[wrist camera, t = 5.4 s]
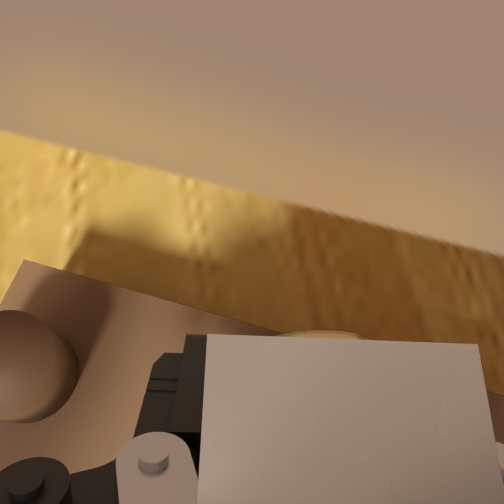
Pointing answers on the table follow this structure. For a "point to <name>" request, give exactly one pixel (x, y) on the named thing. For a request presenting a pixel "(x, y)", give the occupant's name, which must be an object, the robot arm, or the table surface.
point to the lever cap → (345, 422)
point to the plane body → (93, 363)
